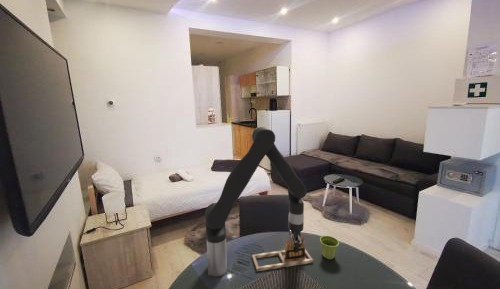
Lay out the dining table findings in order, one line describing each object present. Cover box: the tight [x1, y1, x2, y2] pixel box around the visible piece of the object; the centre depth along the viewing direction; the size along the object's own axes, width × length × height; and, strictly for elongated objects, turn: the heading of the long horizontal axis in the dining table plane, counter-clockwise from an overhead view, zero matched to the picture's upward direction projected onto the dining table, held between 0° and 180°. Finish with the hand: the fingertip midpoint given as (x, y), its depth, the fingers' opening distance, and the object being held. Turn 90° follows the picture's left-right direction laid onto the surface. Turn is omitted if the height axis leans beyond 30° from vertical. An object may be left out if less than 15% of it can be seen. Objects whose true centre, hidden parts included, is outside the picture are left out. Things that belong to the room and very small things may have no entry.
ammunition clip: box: [284, 234, 306, 260], centre depth 120 cm, size 11×2×12 cm, turn 102°
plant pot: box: [319, 235, 340, 260], centre depth 122 cm, size 9×9×9 cm
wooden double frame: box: [251, 248, 314, 272], centre depth 119 cm, size 29×10×2 cm, turn 102°
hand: (294, 250), depth 120 cm, fingers closed on ammunition clip, 2 cm apart
